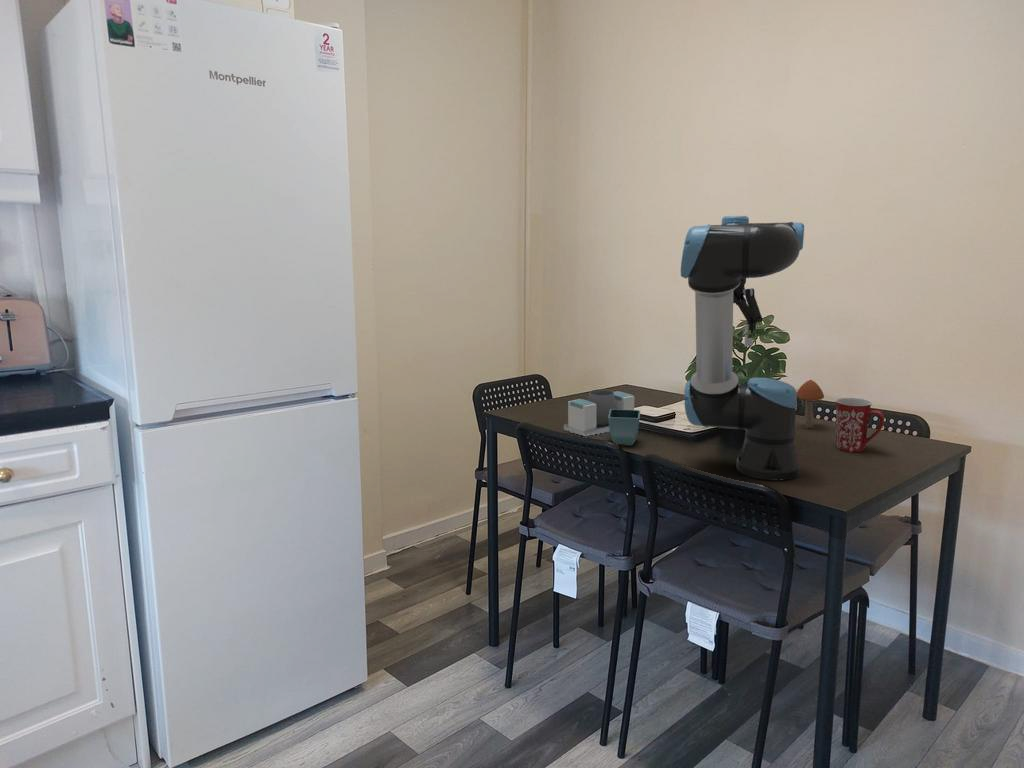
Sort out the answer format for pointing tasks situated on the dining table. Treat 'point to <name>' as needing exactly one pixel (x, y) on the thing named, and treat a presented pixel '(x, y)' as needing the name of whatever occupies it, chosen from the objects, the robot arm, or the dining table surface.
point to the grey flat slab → (598, 430)
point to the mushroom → (809, 400)
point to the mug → (854, 423)
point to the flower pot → (623, 425)
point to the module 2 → (624, 401)
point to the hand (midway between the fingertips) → (729, 342)
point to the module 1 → (581, 415)
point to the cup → (602, 404)
